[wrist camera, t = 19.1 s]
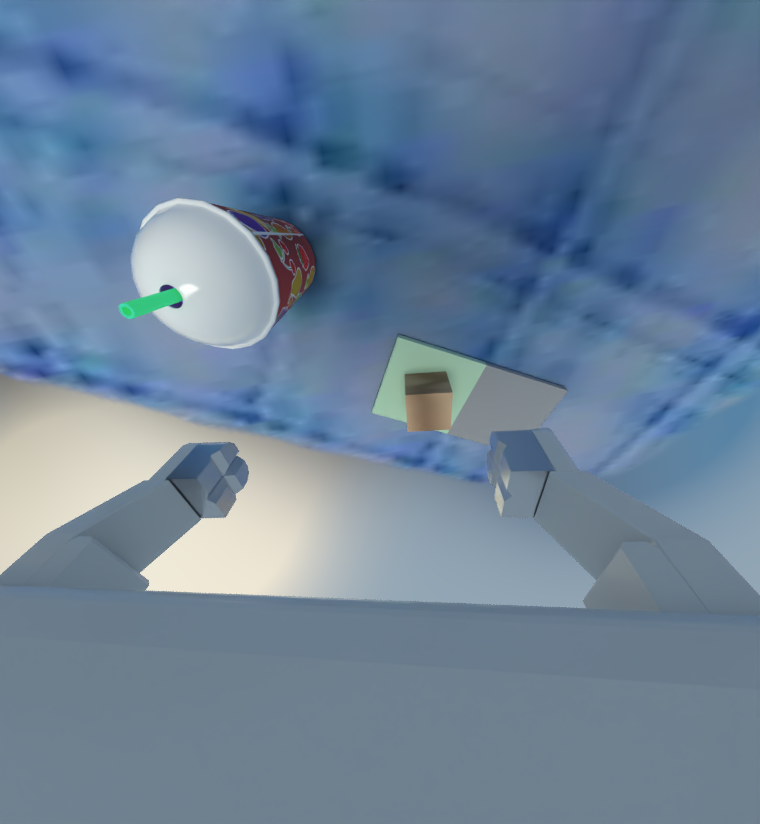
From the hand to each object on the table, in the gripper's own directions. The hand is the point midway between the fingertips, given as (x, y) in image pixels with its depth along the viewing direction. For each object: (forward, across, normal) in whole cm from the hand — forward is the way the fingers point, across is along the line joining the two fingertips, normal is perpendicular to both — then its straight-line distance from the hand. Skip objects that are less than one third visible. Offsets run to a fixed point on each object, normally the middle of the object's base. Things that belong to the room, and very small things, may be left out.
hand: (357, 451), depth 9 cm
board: (+25, -8, +14) cm, 30 cm away
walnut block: (+24, -3, +12) cm, 27 cm away
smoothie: (+25, +11, -4) cm, 27 cm away
